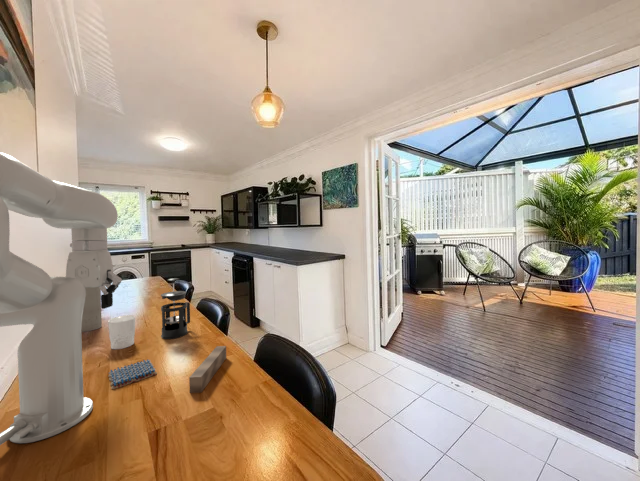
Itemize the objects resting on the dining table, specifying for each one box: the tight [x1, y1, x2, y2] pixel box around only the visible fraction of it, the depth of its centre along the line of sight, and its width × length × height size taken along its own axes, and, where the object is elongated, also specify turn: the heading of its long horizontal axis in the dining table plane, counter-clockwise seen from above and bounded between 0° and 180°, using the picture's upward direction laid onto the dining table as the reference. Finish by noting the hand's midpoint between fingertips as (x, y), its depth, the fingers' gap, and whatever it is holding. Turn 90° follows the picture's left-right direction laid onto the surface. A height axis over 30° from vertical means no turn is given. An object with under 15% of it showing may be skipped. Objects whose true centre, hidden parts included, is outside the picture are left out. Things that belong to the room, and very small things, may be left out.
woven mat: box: [107, 359, 158, 390], centre depth 73 cm, size 10×11×2 cm
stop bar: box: [188, 345, 227, 394], centre depth 74 cm, size 18×3×4 cm, turn 1°
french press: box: [160, 277, 191, 340], centre depth 103 cm, size 12×9×23 cm
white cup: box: [107, 314, 136, 350], centre depth 93 cm, size 8×8×10 cm
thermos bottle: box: [81, 287, 103, 333], centre depth 110 cm, size 8×8×28 cm
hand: (92, 307), depth 73 cm, fingers open, 7 cm apart
